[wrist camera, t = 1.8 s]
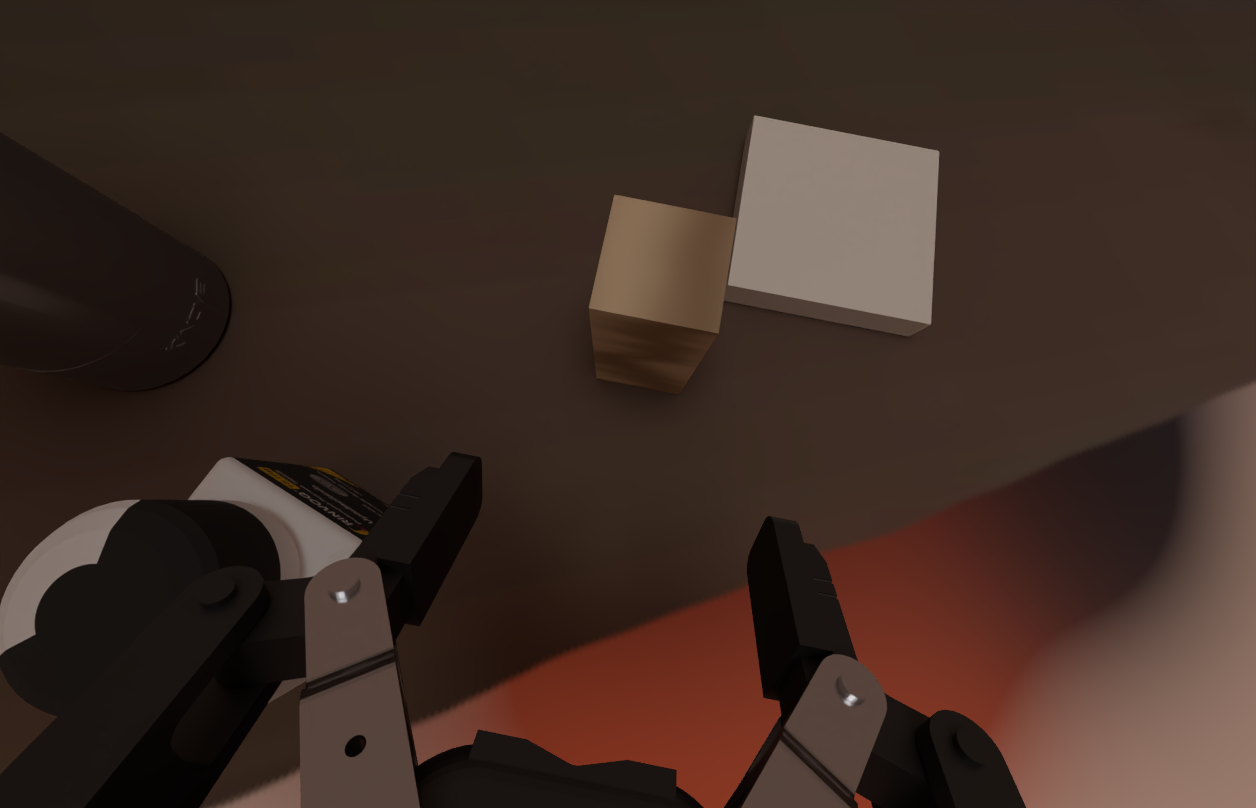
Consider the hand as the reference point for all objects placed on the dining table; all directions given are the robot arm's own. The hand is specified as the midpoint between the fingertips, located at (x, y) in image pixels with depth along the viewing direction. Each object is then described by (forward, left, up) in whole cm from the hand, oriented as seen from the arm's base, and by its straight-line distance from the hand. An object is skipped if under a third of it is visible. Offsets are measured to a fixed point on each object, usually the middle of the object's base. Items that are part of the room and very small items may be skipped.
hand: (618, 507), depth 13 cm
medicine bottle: (-14, -6, -13) cm, 20 cm away
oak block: (0, +9, -13) cm, 16 cm away
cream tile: (+10, +19, -13) cm, 25 cm away
